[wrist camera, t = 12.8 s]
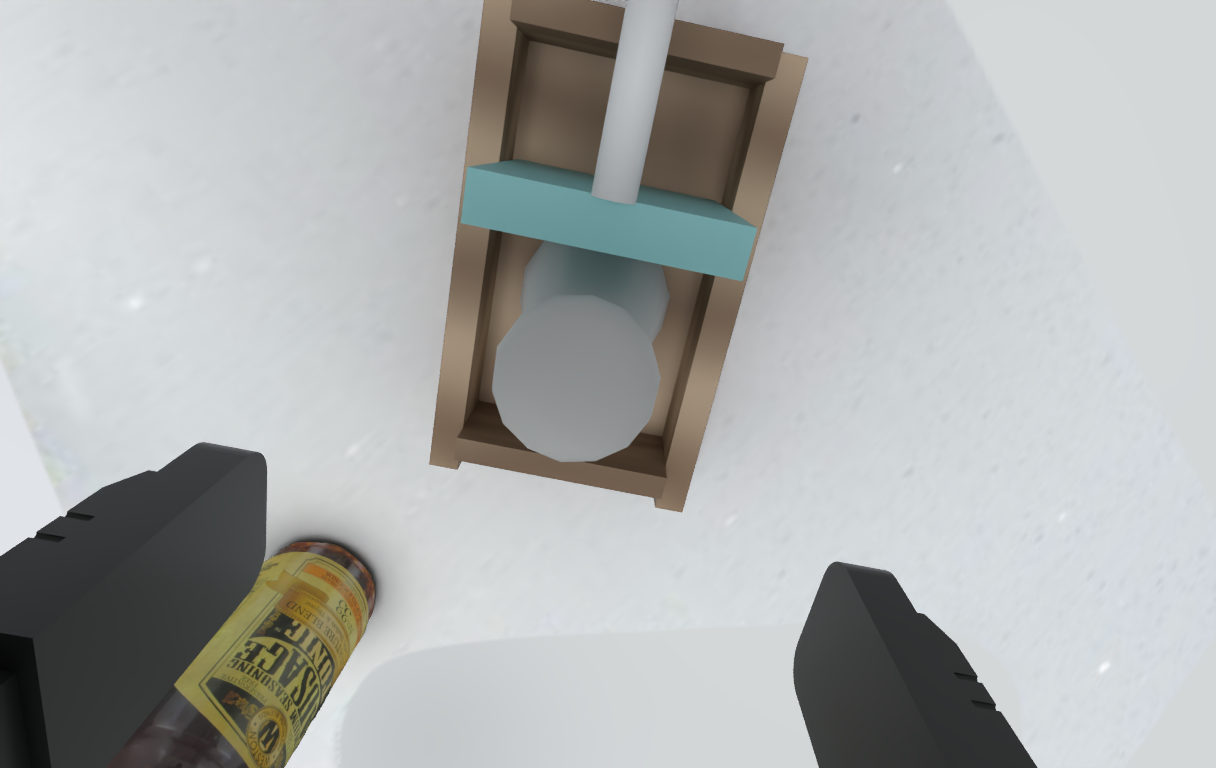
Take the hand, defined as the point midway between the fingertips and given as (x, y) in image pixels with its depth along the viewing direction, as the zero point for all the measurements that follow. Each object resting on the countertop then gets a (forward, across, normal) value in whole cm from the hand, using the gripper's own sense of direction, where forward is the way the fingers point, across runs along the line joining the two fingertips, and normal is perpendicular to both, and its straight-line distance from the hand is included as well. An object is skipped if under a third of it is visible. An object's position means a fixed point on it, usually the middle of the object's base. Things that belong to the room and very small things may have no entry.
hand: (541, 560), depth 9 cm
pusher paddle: (+20, 0, -6) cm, 21 cm away
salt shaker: (+20, 0, 0) cm, 20 cm away
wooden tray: (+21, 0, 0) cm, 21 cm away
